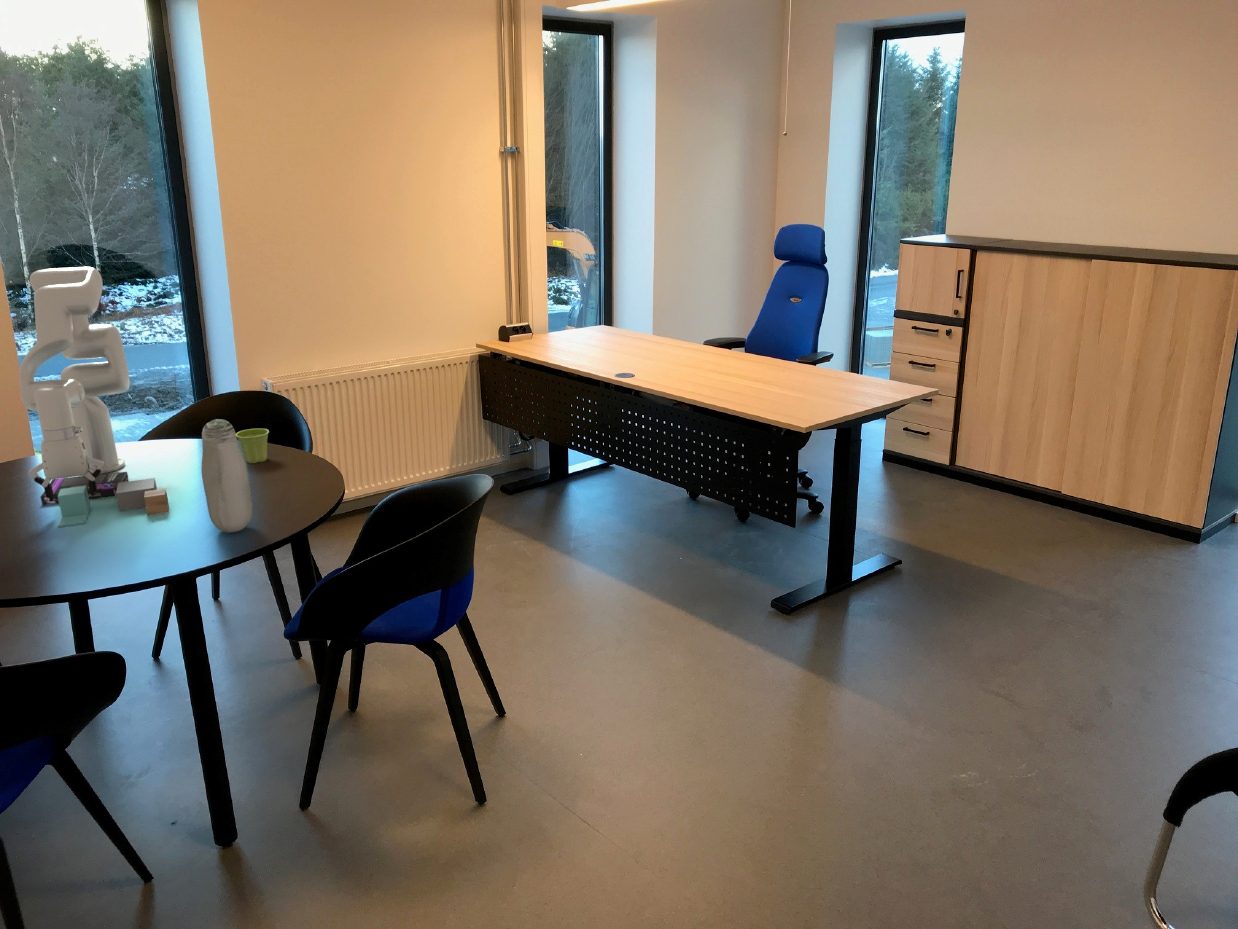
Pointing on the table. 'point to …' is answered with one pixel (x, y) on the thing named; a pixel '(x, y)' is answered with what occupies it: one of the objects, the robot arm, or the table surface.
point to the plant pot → (253, 444)
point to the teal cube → (74, 501)
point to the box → (103, 482)
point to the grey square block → (133, 493)
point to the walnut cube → (156, 501)
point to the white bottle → (225, 477)
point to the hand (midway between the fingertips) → (72, 497)
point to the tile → (73, 520)
